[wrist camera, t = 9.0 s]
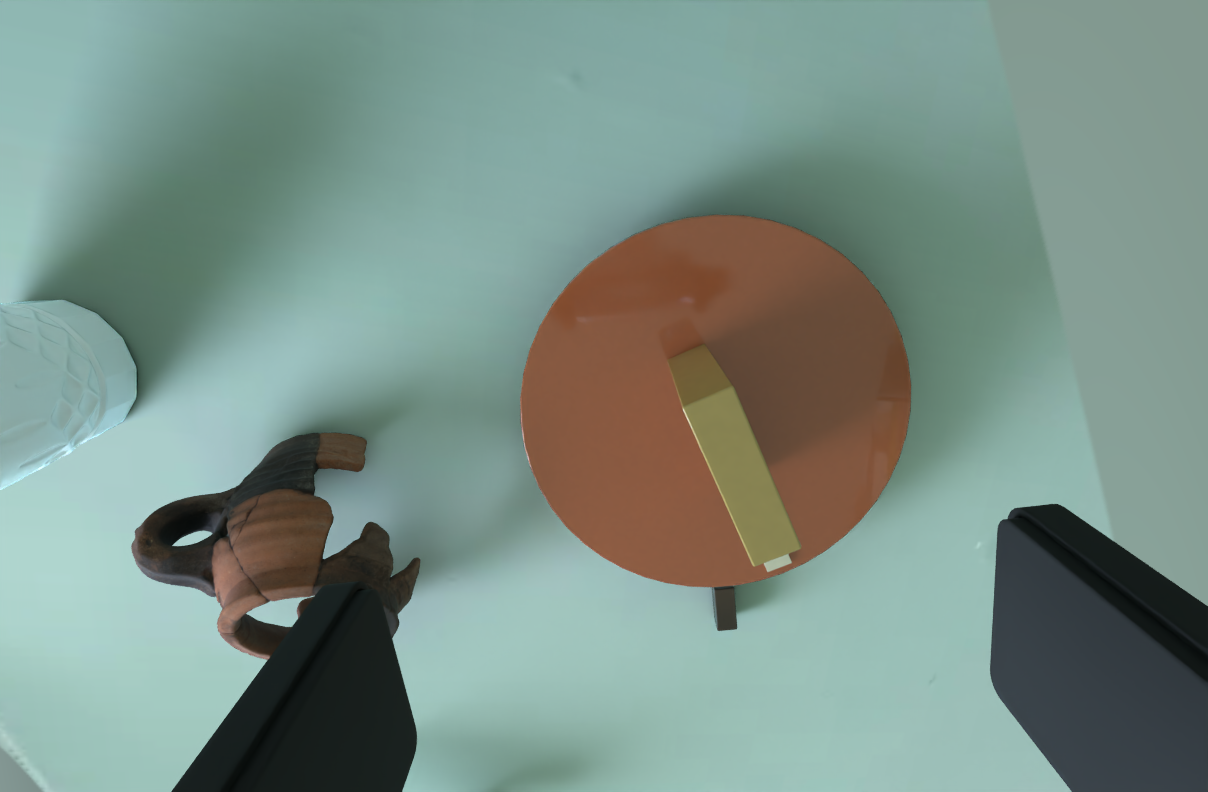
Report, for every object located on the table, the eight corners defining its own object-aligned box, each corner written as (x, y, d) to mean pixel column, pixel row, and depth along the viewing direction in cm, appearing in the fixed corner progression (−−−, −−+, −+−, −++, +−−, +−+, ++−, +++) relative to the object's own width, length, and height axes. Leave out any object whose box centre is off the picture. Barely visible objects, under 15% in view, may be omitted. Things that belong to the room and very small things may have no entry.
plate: (829, 141, 26) (914, 114, 19) (952, 499, 30) (1062, 593, 23) (454, 318, 28) (396, 357, 21) (617, 628, 32) (617, 753, 25)
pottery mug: (429, 424, 32) (420, 574, 26) (420, 533, 38) (412, 673, 33) (148, 409, 29) (68, 576, 23) (189, 531, 35) (134, 686, 29)
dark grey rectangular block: (588, 307, 30) (586, 313, 28) (808, 281, 29) (819, 285, 28) (628, 625, 34) (629, 644, 33) (820, 607, 34) (829, 626, 32)
